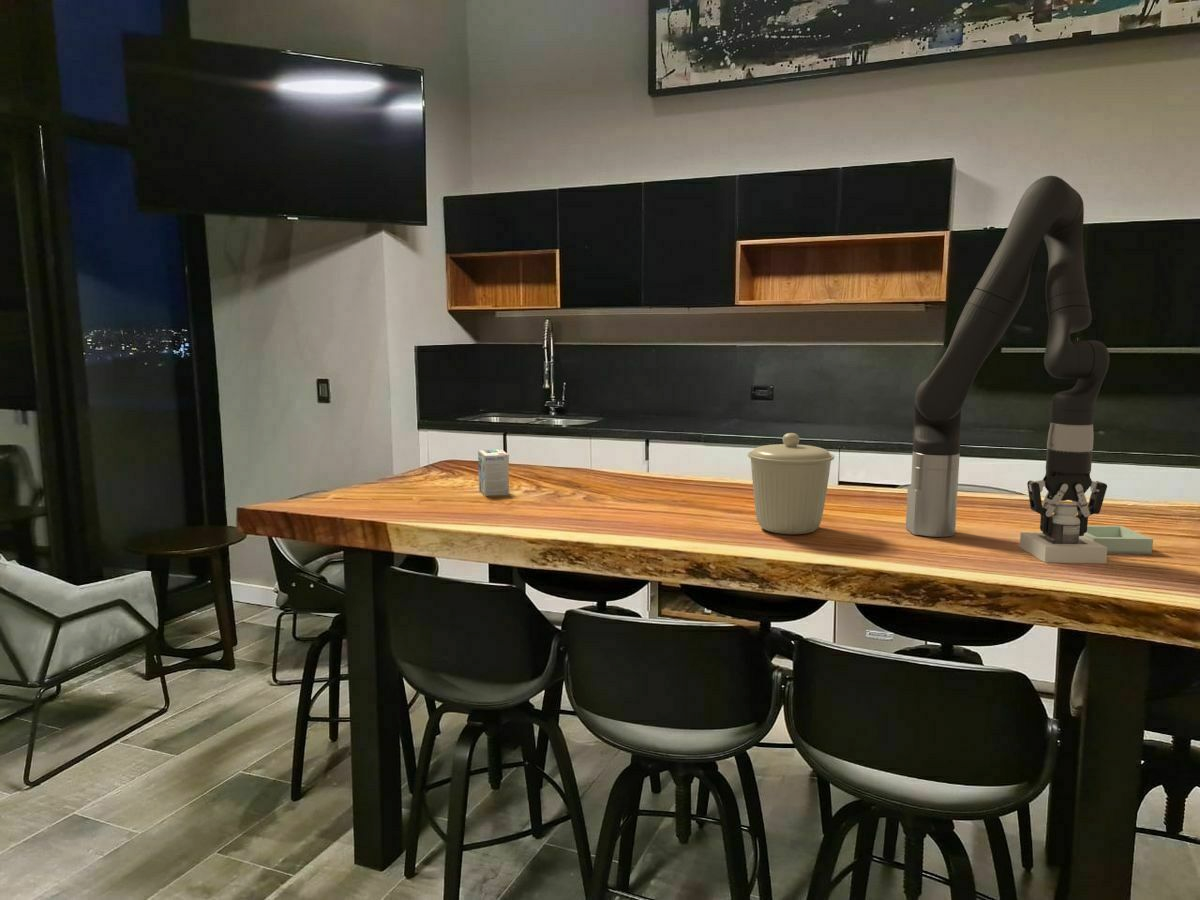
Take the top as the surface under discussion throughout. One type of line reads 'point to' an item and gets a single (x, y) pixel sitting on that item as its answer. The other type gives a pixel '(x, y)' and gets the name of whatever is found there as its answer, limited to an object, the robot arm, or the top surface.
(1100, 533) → the parts tray
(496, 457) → the light bulb box
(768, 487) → the canister
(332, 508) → the top surface
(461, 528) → the top surface
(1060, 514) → the pill bottle
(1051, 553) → the socket block
